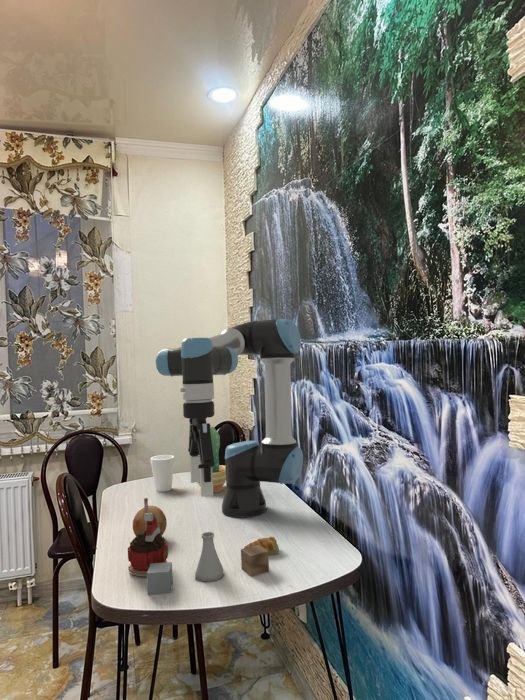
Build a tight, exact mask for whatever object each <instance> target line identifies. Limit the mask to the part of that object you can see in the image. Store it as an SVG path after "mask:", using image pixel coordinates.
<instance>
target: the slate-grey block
mask: <svg viewBox="0 0 525 700" xmlns="http://www.w3.org/2000/svg"><path fill="white" fill-rule="evenodd" d="M173 583H174V581H173V562H172V561H167V562H166V563H152V564H150V566H149V569H148V572H147V576H146V584H147V587H146V591H147V596H154V595H169V594H171V592H172V587H173Z"/></svg>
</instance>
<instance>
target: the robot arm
mask: <svg viewBox="0 0 525 700" xmlns="http://www.w3.org/2000/svg"><path fill="white" fill-rule="evenodd" d="M301 344H302V342H301V334H300V330H299V329H298V326H297V325H296V323H295V321H293V320H291V319H289V318H275V319H263V320H252V321H247V322H243V323H240V324H238V325H235V326H232V327H228V328H226V329H224V330H223V331H222V332H221V334H217V335H214V336H211V337H188V338H187V337H185V338H183V340H182V341H181V346H179V347H176V348H175V347H174V348H171V347H170V348H164V349H161V350H160V351H158V353H157V355H156V357H155V366H156V370H157V372H158V373H159V374H160V375H162V376H165V377H166V376H167V377H176V376H177V377H180V376H182V388H180V389H179V390H180V391H179V392H180V393H182V399H183V400H184V401H185V402H183V404H182V411H183V412H182V413H183V417H184V418H185V419H189V431H188V433H189V434H188V450H187V451H188V453H189V462H190V463H189V464H190V465H189V466H190V483H191V484H193V483H197V482H201V487H200V497H201V498H202V497H209V496H210V497H211V496H214V492H213V473H212V467H213V466H214V464H215V462H214V457H213V449H212V441H211V434H210V427H211V423H209V422H208V423H207V418H212V417H214V416H215V402H214V400H213V399H215V389H214V387H215V385H214V376H220V375H221V376H225V375H227V374H228V375H229V374H231V373H233V372H234V371H235V370H236V369H237V367H238V363H239V357H238V356H244V355H245V356H247V355H250V356H253V355H255V356H259V360H260V361H261V363H262V364H264V391H265V393H264V396H265V398H264V400H265V401H264V403H265V406H264V407H265V411H264V412H265V437H264V438H263V439H262V440H261V445H260V443H259V440H244V441H239V442H234V443H232V444H229V445H227V446H226V448H225V449H224V450H225V452H224V453H225V454H224V460H225V461H224V463H225V464H224V466H225V468H226V482H225V484H226V485H225V486H226V487H225V488H226V489H225V493H224V497H223V499H222V504H221V512H222V514H223V515H225V516H228V517H233V518H249V517H254V516H255V517H256V516H260V515H261V514H264V513H265V512H266V511H267V502H266V499H265V496H264V494H263V491H262V487H261V482H262V483H263V482H264V483H274V484H275V483H276V484H280V485H283V484H287V485H288V484H290V485H291V484H293V483H295V482H296V481H297V480H299V478H300V475H301V474H302V473H301V472H302V471H303V470H302V469H303V463H304V453H303V450H302V448H300V447H299V446H297V440H296V439H295V438H294V437H293V435H292V432H293V431H292V429H293V427H292V389H291V388H292V386H291V382H292V381H291V364H292V363H293V362H294V361H295V354H298V353H299V352H300V350H301V347H302V345H301Z"/></svg>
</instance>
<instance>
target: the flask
mask: <svg viewBox="0 0 525 700" xmlns="http://www.w3.org/2000/svg"><path fill="white" fill-rule="evenodd" d="M214 537H215V532H212V531H204V532H203V533H201V539H202V547H201V548H202V549H201V553H200V557H199V560H198V563H197V567H196V571H195V576H194V579H195V580H197V581H201V582H212V581H218V580H220V579H221V578H222V577H223V576H225V574H224V568H223V565H222V563H221V561H220V558H219V556H218V552H217V550H216V547H215V543H214Z"/></svg>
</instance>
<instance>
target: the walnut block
mask: <svg viewBox="0 0 525 700" xmlns="http://www.w3.org/2000/svg"><path fill="white" fill-rule="evenodd" d="M269 557H270V556H268V551H267V550H266V549H264V548H263V547H261V546H260V545H255V546H251V547H248V548H241V549H240V561H241V563H240V566H241V570H242V571H243V572H244V573H246V574H247V575H248V576H249V577H251V578H253V577H256V576H259V575H262V574H265V573H270V561H269Z"/></svg>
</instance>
